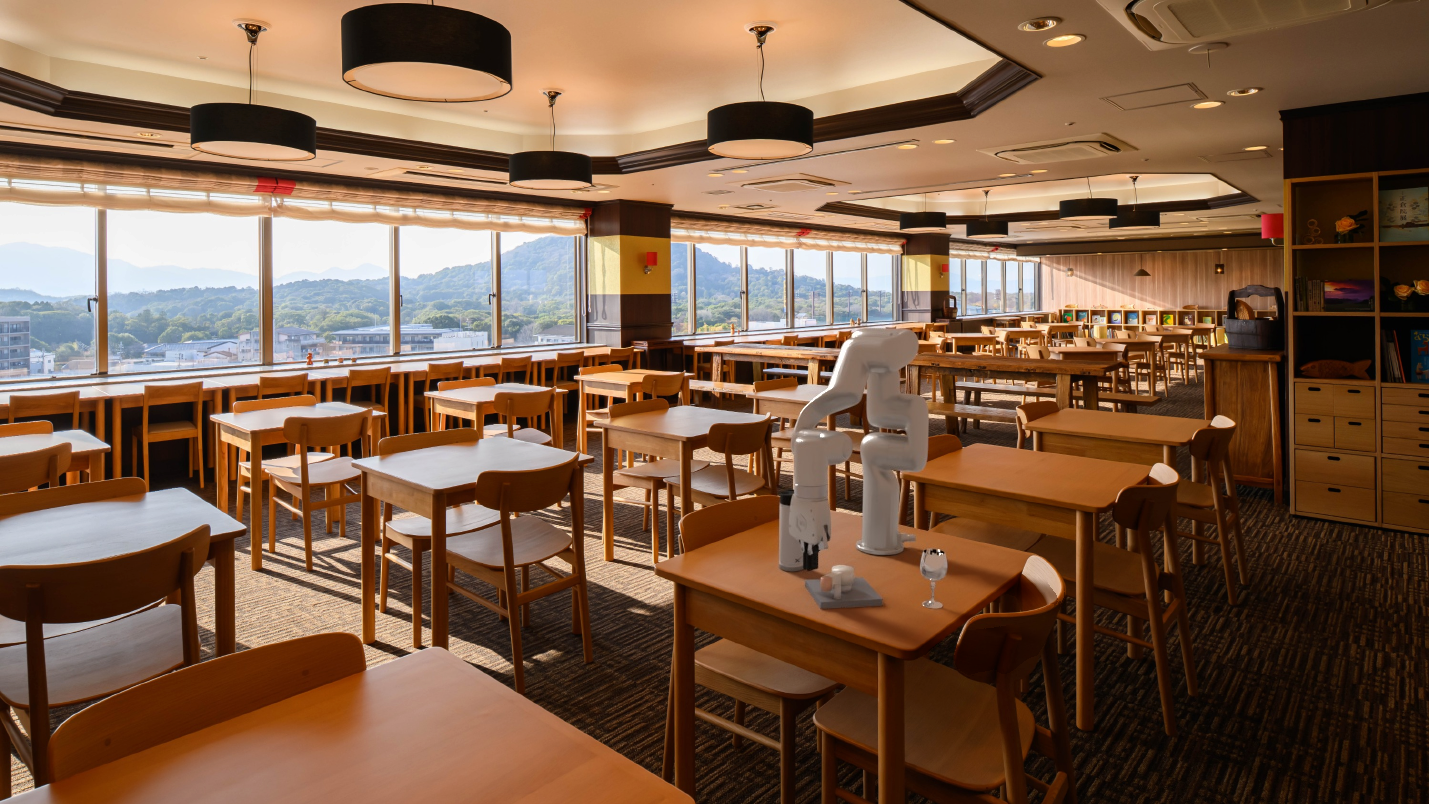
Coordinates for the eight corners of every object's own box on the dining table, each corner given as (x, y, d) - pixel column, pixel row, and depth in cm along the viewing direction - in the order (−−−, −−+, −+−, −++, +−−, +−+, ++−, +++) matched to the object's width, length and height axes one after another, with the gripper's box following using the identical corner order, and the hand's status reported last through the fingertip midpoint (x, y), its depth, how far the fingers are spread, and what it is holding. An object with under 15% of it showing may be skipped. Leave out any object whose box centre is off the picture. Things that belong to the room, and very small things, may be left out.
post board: (862, 583, 187) (862, 564, 186) (882, 605, 173) (883, 585, 172) (804, 585, 185) (805, 567, 184) (820, 608, 171) (820, 588, 171)
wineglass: (915, 600, 176) (916, 548, 174) (940, 599, 176) (942, 547, 175) (924, 610, 170) (925, 556, 169) (949, 609, 171) (952, 555, 169)
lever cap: (838, 576, 182) (838, 563, 182) (857, 580, 179) (858, 568, 179) (813, 589, 173) (813, 576, 173) (833, 595, 170) (833, 581, 170)
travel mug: (804, 572, 194) (805, 493, 191) (777, 570, 195) (778, 492, 193) (806, 564, 200) (807, 487, 198) (780, 562, 201) (781, 486, 199)
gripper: (777, 486, 181) (777, 562, 184) (819, 500, 169) (819, 582, 171) (802, 481, 185) (802, 556, 188) (846, 495, 173) (845, 575, 175)
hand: (810, 568), depth 180 cm, fingers closed
